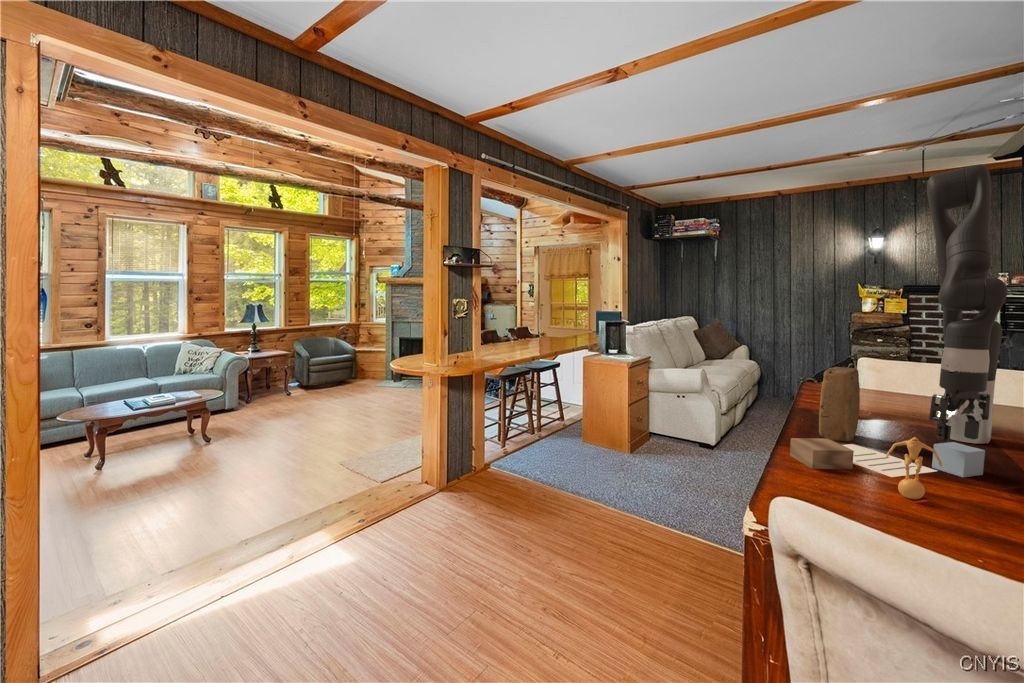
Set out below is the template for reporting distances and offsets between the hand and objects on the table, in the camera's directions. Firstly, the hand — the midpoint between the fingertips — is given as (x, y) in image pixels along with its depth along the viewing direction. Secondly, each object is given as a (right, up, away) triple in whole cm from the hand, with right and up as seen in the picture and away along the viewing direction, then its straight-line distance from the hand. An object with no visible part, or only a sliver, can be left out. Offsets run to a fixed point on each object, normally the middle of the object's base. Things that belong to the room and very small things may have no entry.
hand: (956, 439), depth 102 cm
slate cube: (+1, -8, +1) cm, 8 cm away
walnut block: (-27, -7, +6) cm, 28 cm away
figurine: (-21, -9, -12) cm, 26 cm away
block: (-8, -5, +26) cm, 28 cm away
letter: (-13, -7, +9) cm, 17 cm away
